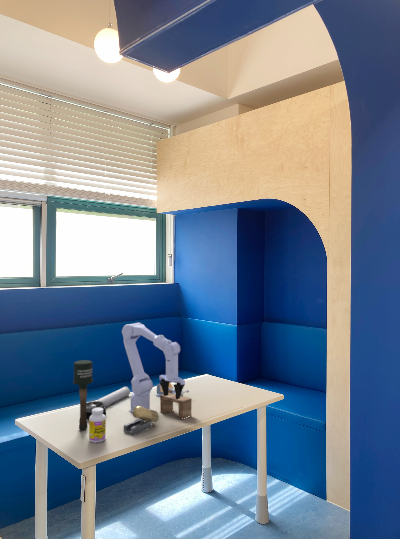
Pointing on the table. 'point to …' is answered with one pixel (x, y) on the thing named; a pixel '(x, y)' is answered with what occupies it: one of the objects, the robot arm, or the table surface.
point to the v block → (137, 426)
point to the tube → (115, 396)
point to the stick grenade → (83, 387)
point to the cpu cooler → (94, 405)
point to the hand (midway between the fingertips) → (171, 397)
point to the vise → (171, 390)
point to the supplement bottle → (97, 426)
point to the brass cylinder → (145, 414)
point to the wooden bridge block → (168, 400)
